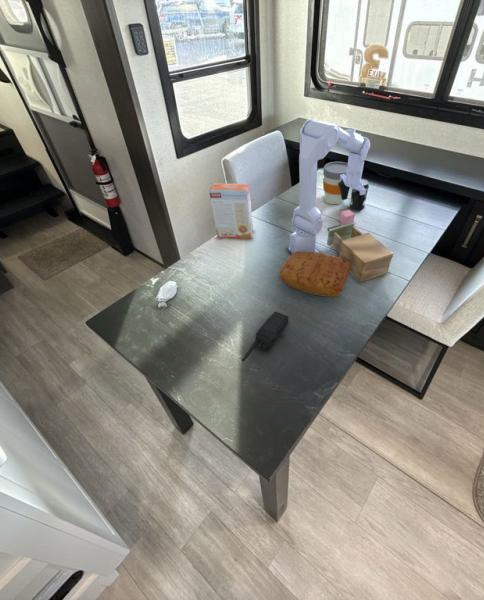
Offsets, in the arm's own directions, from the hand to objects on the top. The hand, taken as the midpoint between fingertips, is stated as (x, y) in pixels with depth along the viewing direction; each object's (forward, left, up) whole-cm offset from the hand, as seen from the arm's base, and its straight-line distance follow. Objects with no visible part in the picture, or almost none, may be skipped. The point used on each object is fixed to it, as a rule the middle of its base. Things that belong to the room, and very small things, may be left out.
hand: (349, 203), depth 127 cm
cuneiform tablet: (-31, -27, -9) cm, 42 cm away
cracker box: (-46, +12, -9) cm, 48 cm away
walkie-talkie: (-56, -44, -9) cm, 72 cm away
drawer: (-11, -15, -8) cm, 20 cm away
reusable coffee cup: (+6, +19, -9) cm, 22 cm away
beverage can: (+11, +8, -9) cm, 16 cm away
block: (0, 0, -9) cm, 9 cm away
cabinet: (-11, -27, -9) cm, 30 cm away
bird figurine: (-78, -12, -9) cm, 79 cm away
